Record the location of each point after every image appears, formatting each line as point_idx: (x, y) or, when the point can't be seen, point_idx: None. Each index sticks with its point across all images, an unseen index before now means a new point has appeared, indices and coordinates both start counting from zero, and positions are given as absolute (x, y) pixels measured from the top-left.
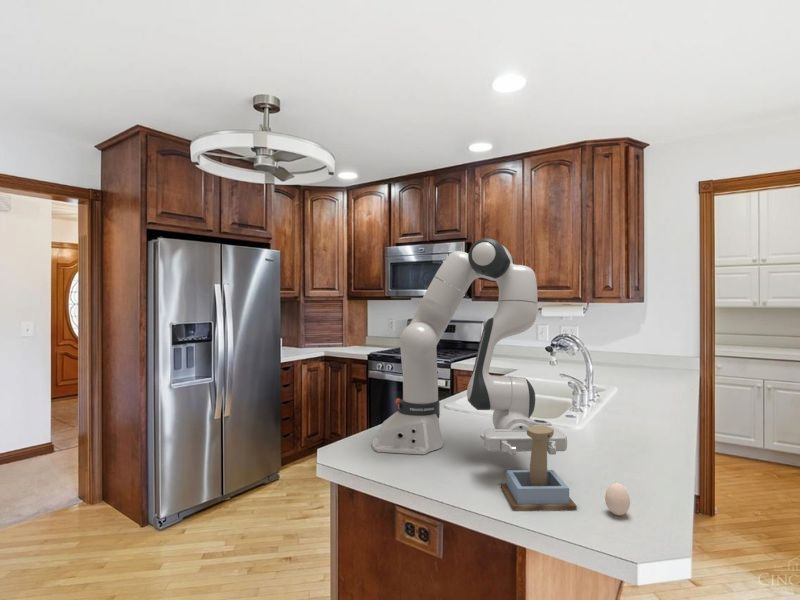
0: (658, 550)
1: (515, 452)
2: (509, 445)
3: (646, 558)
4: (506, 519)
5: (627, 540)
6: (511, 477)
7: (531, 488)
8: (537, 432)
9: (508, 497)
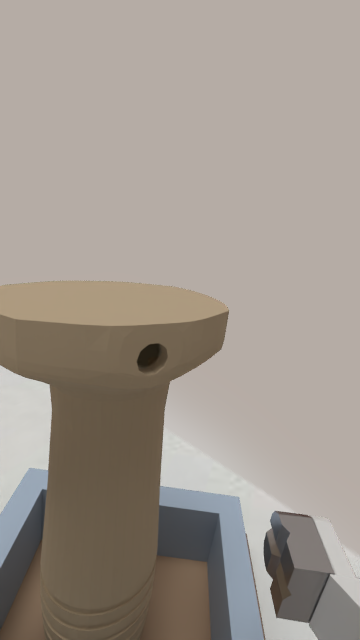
0: (4, 372)
1: (271, 531)
2: (340, 561)
3: None
4: (266, 500)
5: (26, 395)
6: (260, 634)
7: (183, 490)
8: (167, 290)
9: (260, 616)
